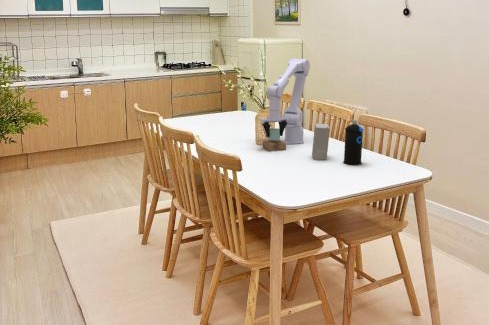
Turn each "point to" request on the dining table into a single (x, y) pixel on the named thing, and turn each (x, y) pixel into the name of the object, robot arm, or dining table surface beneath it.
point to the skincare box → (320, 141)
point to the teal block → (274, 134)
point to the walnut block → (274, 145)
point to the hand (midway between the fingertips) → (274, 136)
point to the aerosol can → (353, 144)
